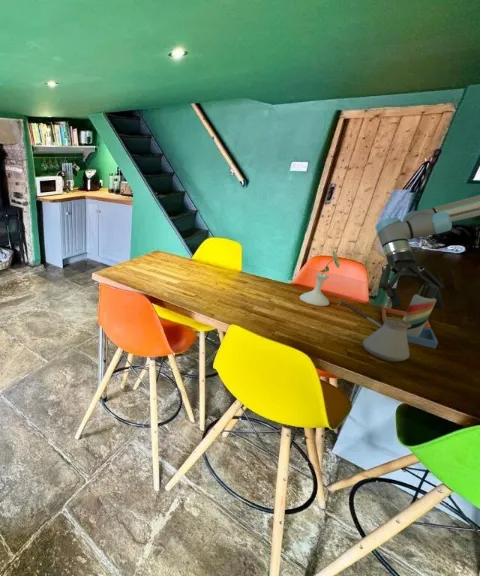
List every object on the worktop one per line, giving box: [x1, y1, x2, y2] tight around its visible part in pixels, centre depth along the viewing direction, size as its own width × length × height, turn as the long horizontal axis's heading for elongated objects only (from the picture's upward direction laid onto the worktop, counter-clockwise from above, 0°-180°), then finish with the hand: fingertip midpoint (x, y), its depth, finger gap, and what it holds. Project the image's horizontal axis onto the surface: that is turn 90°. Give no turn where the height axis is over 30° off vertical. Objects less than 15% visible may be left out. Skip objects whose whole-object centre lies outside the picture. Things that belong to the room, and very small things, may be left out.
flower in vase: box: [299, 250, 341, 307], centre depth 135 cm, size 13×11×25 cm
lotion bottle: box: [402, 283, 439, 337], centre depth 108 cm, size 6×6×20 cm
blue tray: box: [382, 321, 439, 350], centre depth 111 cm, size 13×12×2 cm
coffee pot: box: [337, 300, 411, 362], centre depth 100 cm, size 21×12×15 cm, turn 44°
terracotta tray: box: [380, 306, 432, 329], centre depth 121 cm, size 13×12×2 cm
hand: (418, 306), depth 108 cm, fingers open, 13 cm apart
